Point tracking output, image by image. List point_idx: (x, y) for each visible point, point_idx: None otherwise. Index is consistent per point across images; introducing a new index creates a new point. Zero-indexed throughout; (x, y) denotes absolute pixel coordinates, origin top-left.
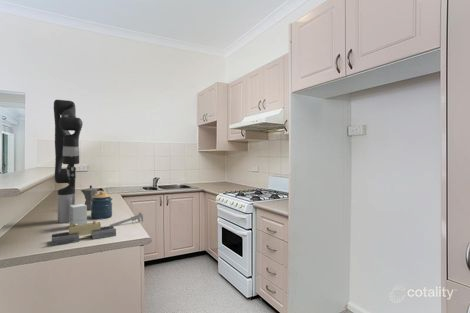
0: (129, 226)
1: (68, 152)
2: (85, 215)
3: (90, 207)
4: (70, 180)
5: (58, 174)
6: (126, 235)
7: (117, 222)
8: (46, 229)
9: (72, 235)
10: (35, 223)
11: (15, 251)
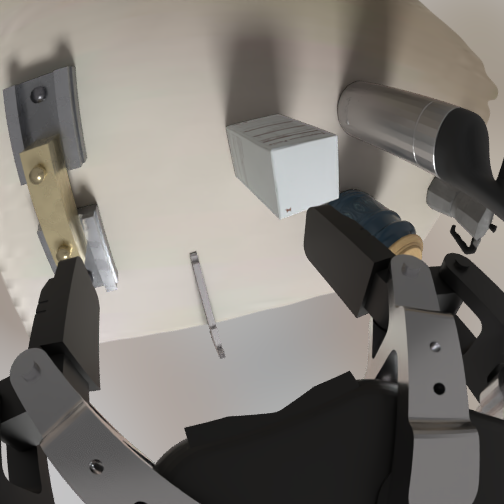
0: (166, 312)
1: None
2: (255, 191)
3: (435, 193)
4: (50, 341)
5: None
6: None
7: (199, 286)
8: (280, 32)
9: (15, 162)
10: (383, 21)
11: None
